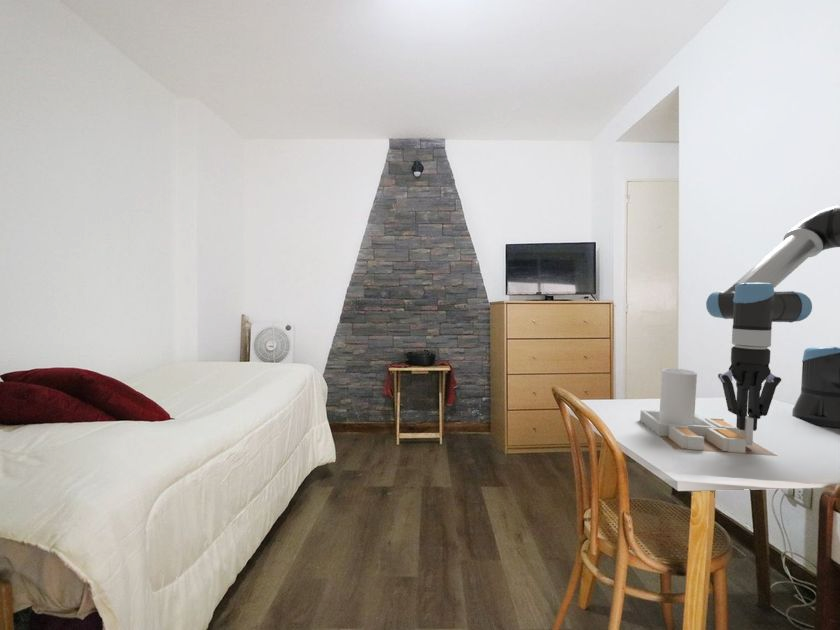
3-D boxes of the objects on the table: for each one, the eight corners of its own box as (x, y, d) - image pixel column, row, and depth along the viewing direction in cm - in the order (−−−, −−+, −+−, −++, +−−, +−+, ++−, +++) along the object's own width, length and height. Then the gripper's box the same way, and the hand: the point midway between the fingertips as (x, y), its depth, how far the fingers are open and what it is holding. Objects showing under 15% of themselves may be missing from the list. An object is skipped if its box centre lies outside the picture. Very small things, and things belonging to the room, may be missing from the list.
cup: (698, 435, 114) (701, 375, 113) (663, 431, 117) (666, 372, 116) (687, 425, 122) (691, 369, 121) (655, 422, 124) (658, 367, 123)
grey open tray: (724, 440, 111) (725, 428, 111) (745, 452, 102) (745, 440, 102) (705, 438, 111) (706, 427, 111) (724, 451, 103) (724, 438, 102)
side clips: (721, 429, 120) (721, 418, 120) (764, 454, 101) (764, 441, 101) (653, 425, 123) (653, 414, 122) (683, 448, 104) (683, 436, 104)
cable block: (728, 442, 109) (729, 430, 109) (742, 450, 103) (743, 438, 103) (715, 441, 110) (716, 429, 110) (728, 449, 104) (729, 437, 104)
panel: (722, 428, 124) (722, 424, 124) (777, 460, 100) (777, 455, 100) (640, 424, 127) (640, 420, 127) (674, 453, 104) (674, 448, 104)
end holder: (691, 423, 125) (692, 412, 125) (717, 439, 111) (717, 427, 111) (640, 420, 127) (640, 409, 127) (658, 435, 114) (659, 424, 113)
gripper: (770, 345, 107) (765, 439, 109) (713, 344, 109) (708, 436, 111) (791, 349, 100) (785, 450, 101) (729, 347, 102) (724, 446, 103)
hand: (745, 442), depth 106 cm, fingers closed
